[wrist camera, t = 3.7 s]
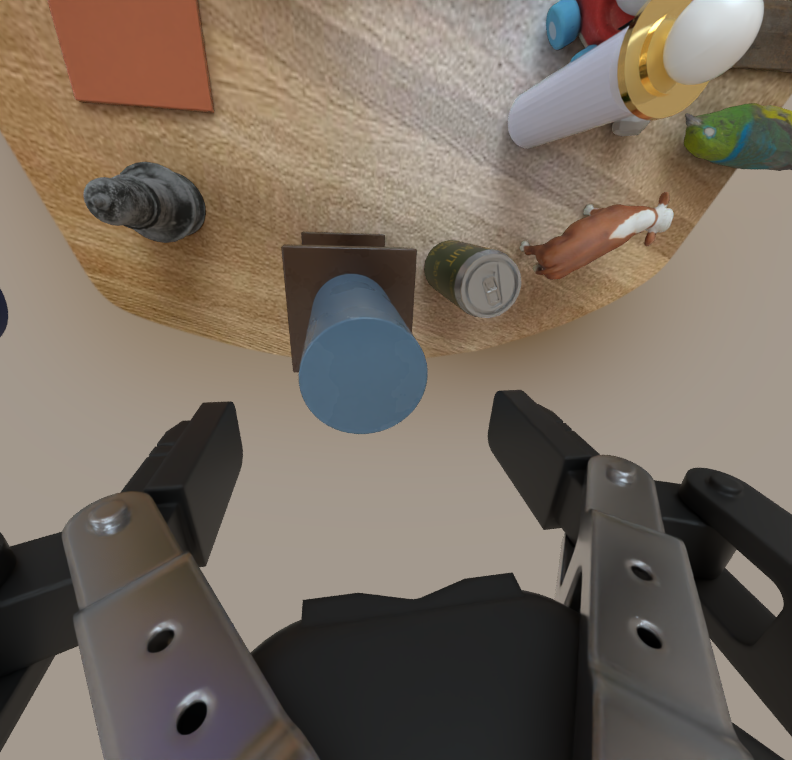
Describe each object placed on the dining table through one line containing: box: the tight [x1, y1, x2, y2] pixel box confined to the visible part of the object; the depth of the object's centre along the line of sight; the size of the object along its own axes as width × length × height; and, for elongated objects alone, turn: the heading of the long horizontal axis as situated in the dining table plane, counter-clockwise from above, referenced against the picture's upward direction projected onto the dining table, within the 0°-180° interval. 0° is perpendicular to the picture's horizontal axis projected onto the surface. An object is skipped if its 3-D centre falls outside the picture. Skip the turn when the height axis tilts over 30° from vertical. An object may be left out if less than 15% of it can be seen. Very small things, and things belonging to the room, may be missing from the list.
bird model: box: [684, 103, 792, 171], centre depth 35 cm, size 5×19×5 cm
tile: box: [47, 0, 214, 113], centre depth 27 cm, size 10×8×1 cm
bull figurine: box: [520, 192, 674, 280], centre depth 35 cm, size 4×13×8 cm, turn 113°
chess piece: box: [84, 162, 206, 243], centre depth 27 cm, size 6×6×12 cm
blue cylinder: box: [299, 274, 427, 434], centre depth 18 cm, size 5×5×10 cm
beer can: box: [424, 240, 521, 318], centre depth 33 cm, size 5×5×12 cm
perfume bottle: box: [508, 0, 764, 148], centre depth 24 cm, size 6×6×20 cm
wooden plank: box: [731, 0, 792, 72], centre depth 33 cm, size 17×1×5 cm
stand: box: [281, 232, 417, 372], centre depth 30 cm, size 8×8×16 cm
